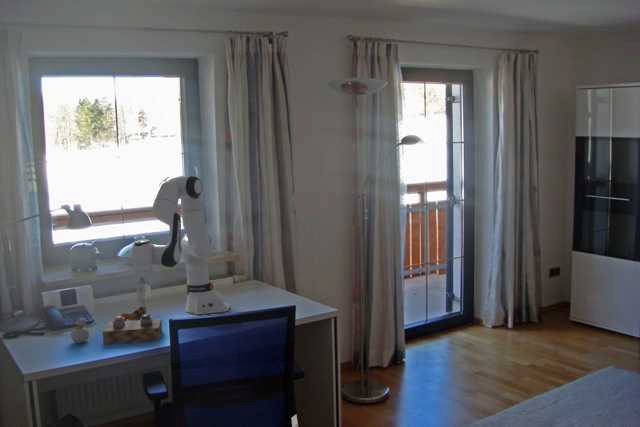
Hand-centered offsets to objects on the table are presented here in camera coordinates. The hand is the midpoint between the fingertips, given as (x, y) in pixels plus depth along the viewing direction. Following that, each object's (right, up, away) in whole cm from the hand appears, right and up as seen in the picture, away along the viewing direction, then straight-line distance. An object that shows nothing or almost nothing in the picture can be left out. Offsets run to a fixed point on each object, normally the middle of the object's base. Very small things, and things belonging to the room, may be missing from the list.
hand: (144, 306), depth 298 cm
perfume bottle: (-27, -16, -4) cm, 31 cm away
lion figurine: (-11, -12, +20) cm, 26 cm away
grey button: (+1, -10, +2) cm, 10 cm away
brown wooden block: (-5, -15, +1) cm, 16 cm away
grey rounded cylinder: (-11, -10, 0) cm, 15 cm away
